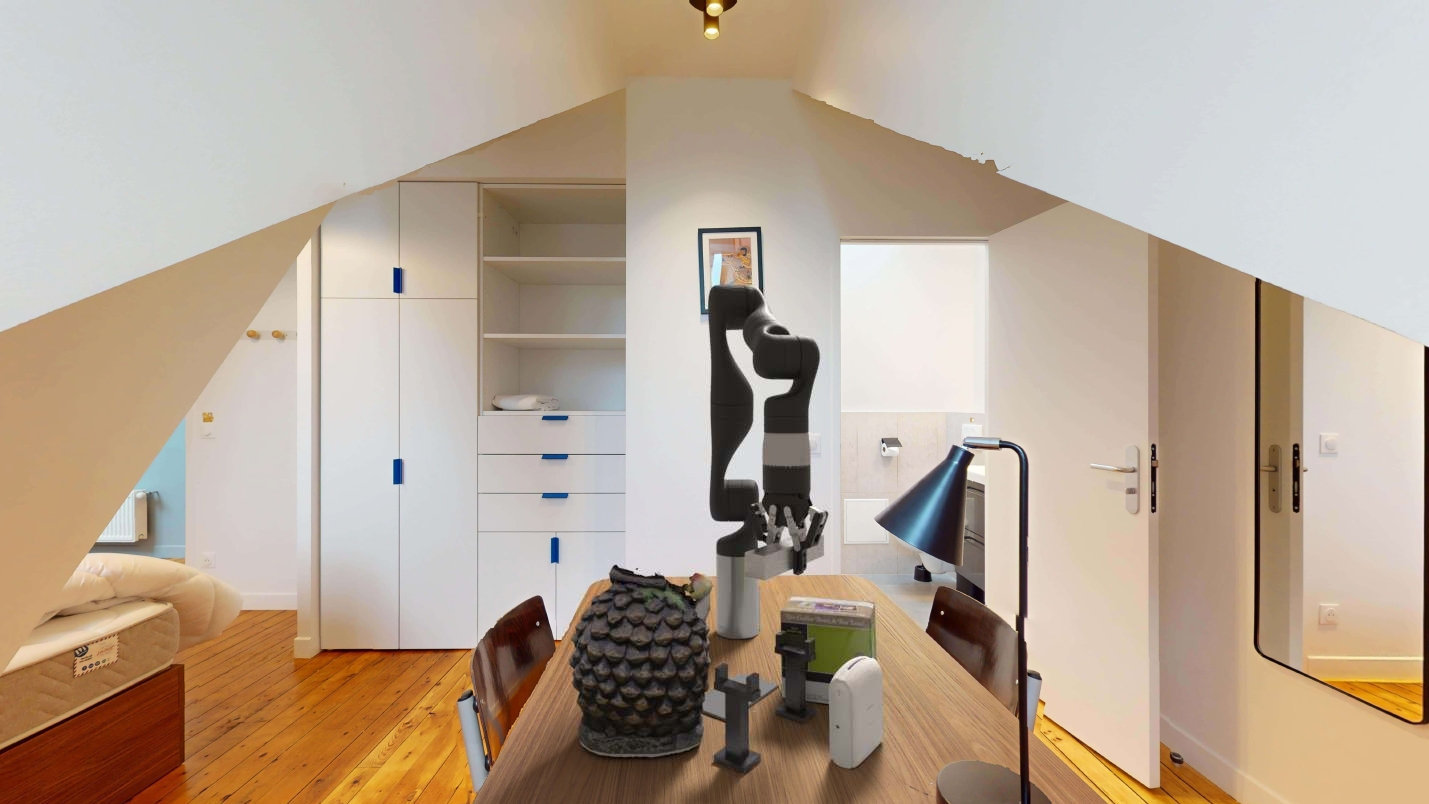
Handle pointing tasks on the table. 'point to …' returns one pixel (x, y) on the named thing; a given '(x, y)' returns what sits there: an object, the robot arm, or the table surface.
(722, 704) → the pad
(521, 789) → the table surface
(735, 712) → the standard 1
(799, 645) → the tea box
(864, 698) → the photo printer
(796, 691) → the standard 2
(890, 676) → the table surface
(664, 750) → the scaly pinecone sculpture
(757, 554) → the rail
